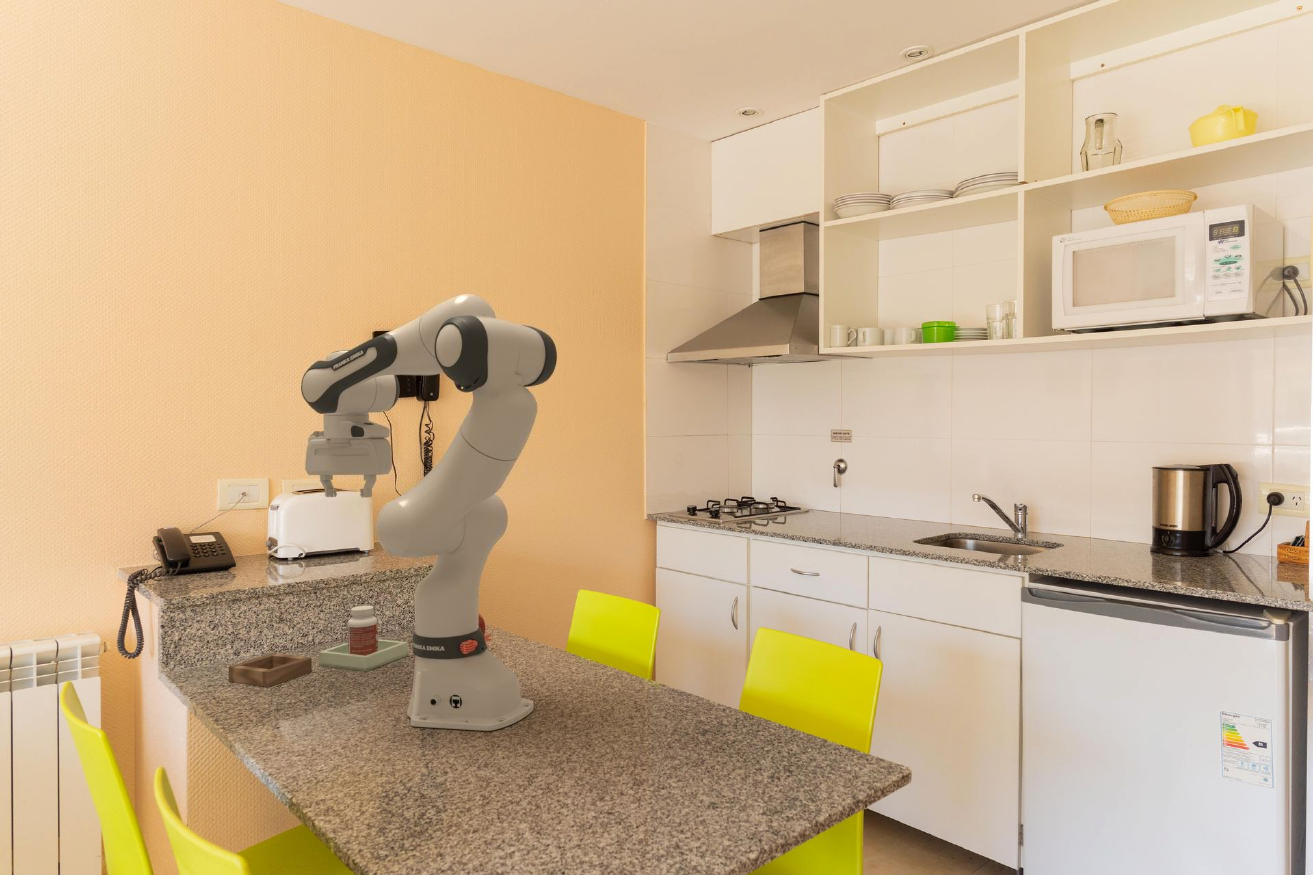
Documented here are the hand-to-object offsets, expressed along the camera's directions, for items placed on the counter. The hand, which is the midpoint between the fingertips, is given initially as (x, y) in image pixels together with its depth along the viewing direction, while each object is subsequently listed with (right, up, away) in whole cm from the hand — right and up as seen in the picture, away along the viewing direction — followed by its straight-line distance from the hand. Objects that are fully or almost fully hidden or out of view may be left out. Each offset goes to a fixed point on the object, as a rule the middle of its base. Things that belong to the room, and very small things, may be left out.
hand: (348, 497), depth 167 cm
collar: (-16, -37, +1) cm, 41 cm away
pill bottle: (-1, -37, +12) cm, 38 cm away
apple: (+20, -37, +16) cm, 45 cm away
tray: (-1, -37, +12) cm, 39 cm away
